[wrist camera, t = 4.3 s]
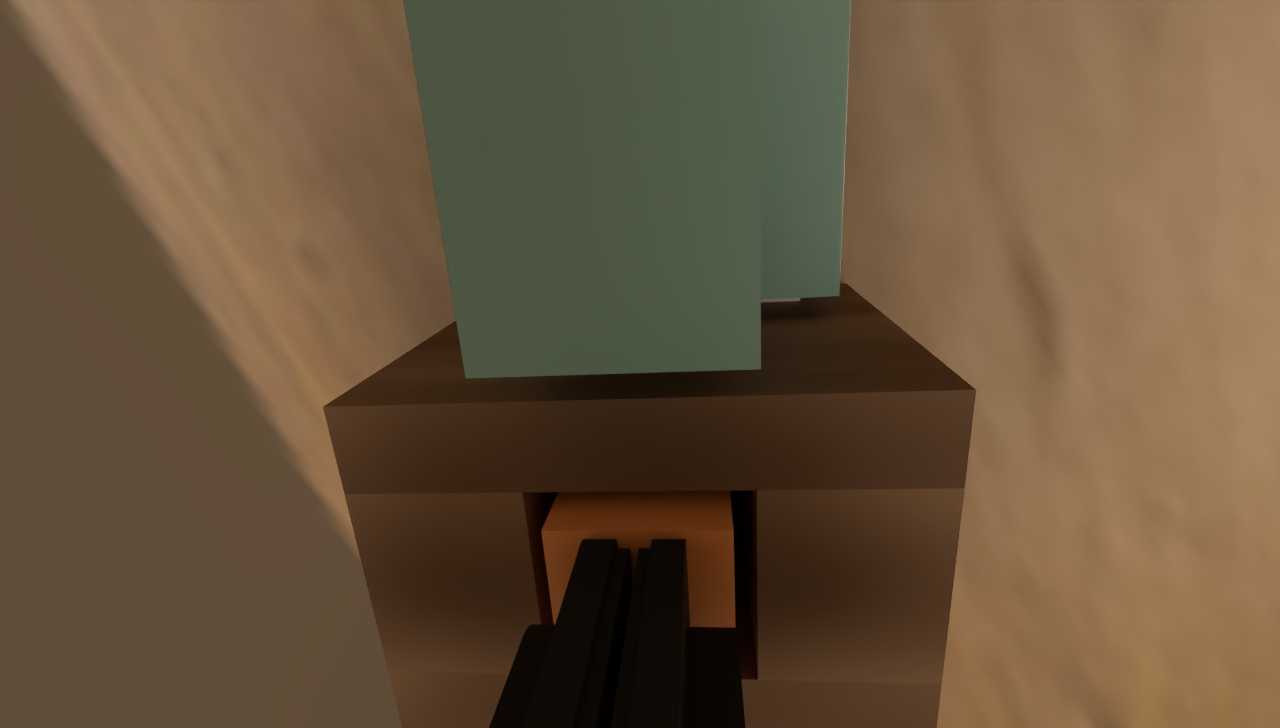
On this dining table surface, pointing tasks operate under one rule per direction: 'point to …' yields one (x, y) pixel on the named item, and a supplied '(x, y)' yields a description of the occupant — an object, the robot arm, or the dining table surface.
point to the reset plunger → (635, 526)
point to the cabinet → (674, 461)
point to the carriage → (631, 175)
